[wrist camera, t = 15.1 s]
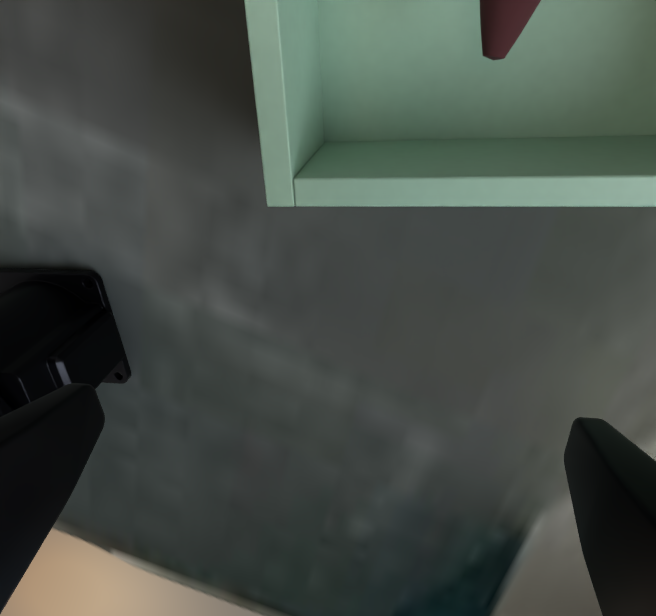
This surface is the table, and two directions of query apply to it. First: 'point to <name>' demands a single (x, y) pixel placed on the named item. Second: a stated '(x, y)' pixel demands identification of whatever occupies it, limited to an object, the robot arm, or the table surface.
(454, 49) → the green open box
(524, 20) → the icecream
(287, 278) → the table surface
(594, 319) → the table surface
